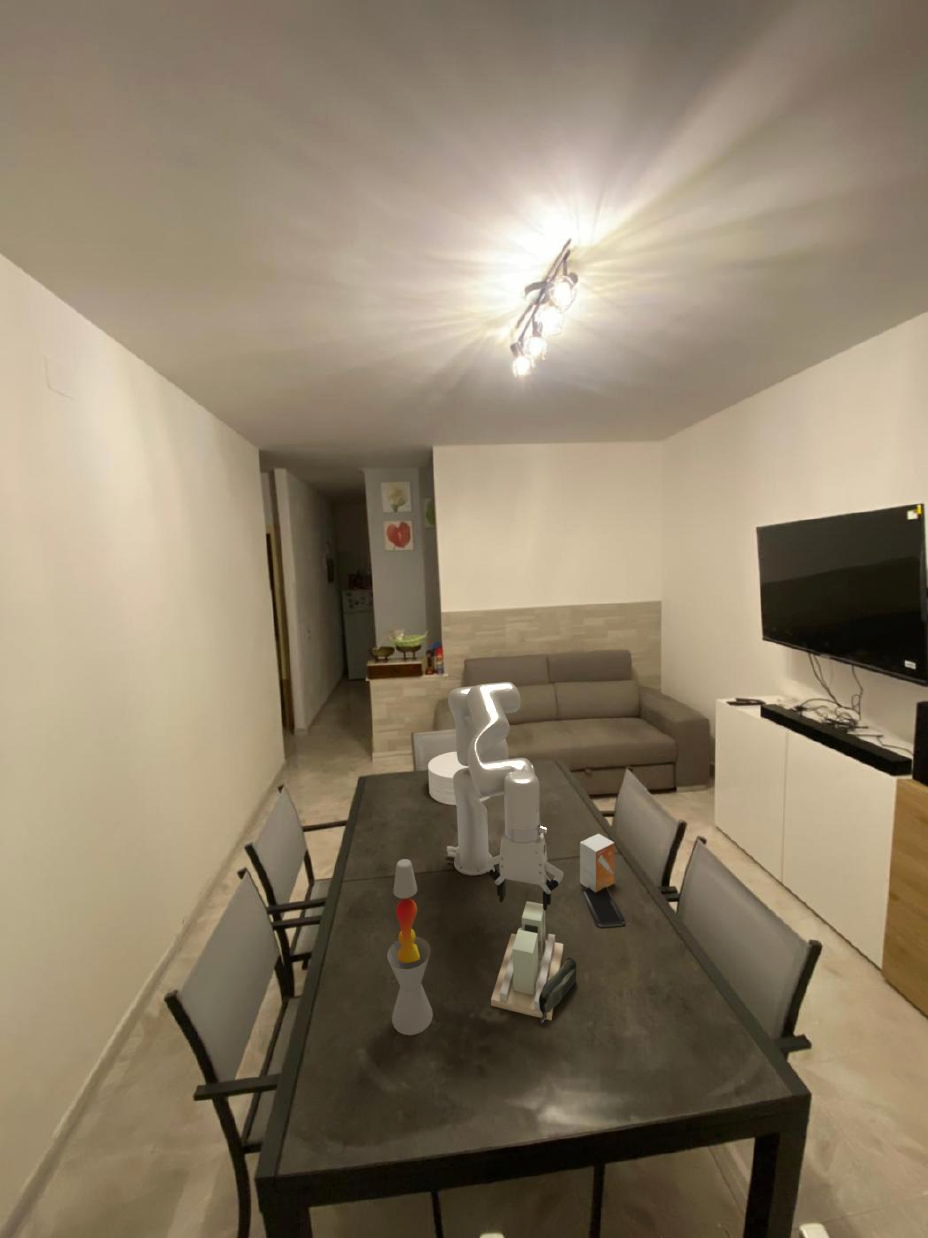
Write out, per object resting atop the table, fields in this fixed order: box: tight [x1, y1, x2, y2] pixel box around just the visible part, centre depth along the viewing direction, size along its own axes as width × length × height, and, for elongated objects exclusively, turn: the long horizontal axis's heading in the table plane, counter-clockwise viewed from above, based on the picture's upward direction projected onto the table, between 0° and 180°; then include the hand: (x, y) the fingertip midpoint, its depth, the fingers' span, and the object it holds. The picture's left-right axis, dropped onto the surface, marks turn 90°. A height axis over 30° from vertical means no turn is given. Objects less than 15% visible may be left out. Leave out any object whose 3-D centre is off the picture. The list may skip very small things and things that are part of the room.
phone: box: [581, 887, 626, 929], centre depth 138 cm, size 8×1×15 cm
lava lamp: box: [386, 858, 434, 1036], centre depth 105 cm, size 9×9×35 cm
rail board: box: [490, 901, 564, 1021], centre depth 116 cm, size 20×13×12 cm, turn 162°
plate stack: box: [427, 751, 491, 806], centre depth 212 cm, size 28×28×12 cm
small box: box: [579, 833, 615, 892], centre depth 147 cm, size 8×6×13 cm
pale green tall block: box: [512, 930, 539, 995], centre depth 113 cm, size 4×6×10 cm
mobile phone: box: [539, 957, 577, 1024], centre depth 110 cm, size 5×3×15 cm
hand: (524, 902), depth 111 cm, fingers open, 9 cm apart
